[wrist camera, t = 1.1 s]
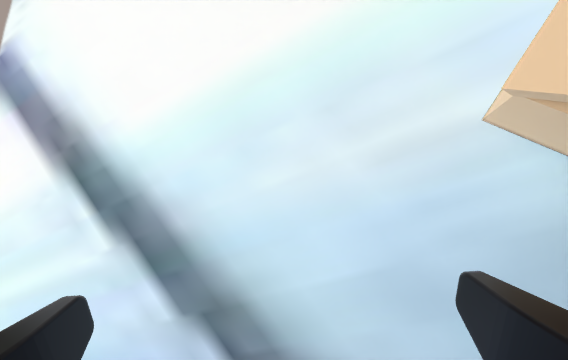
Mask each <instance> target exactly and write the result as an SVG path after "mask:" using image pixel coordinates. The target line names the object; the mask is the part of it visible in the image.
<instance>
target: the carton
mask: <svg viewBox="0 0 568 360" xmlns="http://www.w3.org/2000/svg"><path fill="white" fill-rule="evenodd" d="M482 120H483V121H485V122H488V123H490V124H492V125H495V126H497V127H499V128H502V129H504V130H507V131H509V132H511V133H514V134H516V135H518V136H521V137H523V138H526V139H528V140H530V141H533V142H535V143H538V144H540V145H542V146H545V147H547V148H549V149H552V150H554V151H557V152H559V153H561V154H564V155H566V156H568V102H559V101H551V100H542V99H533V98H525V97H516V96H512V95H510V94H509V93H507V92H506V91H504V90H503V89H502V90H501V91H500V93H499V95H498V96H497V98H496V99H495V101H494V102H493V104H492V105H491V107H490V108H489V110H488V111H487V113H486V114H485V116H484V117H483V119H482Z"/></svg>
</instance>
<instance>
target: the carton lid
mask: <svg viewBox="0 0 568 360" xmlns="http://www.w3.org/2000/svg"><path fill="white" fill-rule="evenodd" d="M501 89H503V90H504V91H506V92H507V93H509V94H510V95H512V96H516V97H525V98H533V99H542V100H551V101H559V102H568V0H559V1H558V3H557V4H556V6H555V7H554V9H553V10H552V12H551V13H550V15H549V16H548V18H547V19H546V21H545V22H544V24H543V26H542V27H541V29H540V30H539V32H538V33H537V35H536V36H535V38H534V39H533V41H532V42H531V44H530V45H529V47H528V48H527V50H526V51H525V53H524V54H523V56H522V58H521V59H520V61H519V62H518V64H517V65H516V67H515V68H514V70H513V71H512V73H511V74H510V76H509V77H508V79H507V80H506V82H505V83H504V85H503V87H502V88H501Z"/></svg>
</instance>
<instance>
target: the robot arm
mask: <svg viewBox="0 0 568 360" xmlns="http://www.w3.org/2000/svg"><path fill="white" fill-rule="evenodd" d="M456 307H457V309H458V312H459V314H460V316H461V318H462V320H463V321H464V323H465V325H466V327H467V329H468V331H469V333H470V335H471V337H472V339H473V341H474V343H475V345H476V347H477V349H478V351H479V353H480V354H481V356H482V358H483V360H568V310H566V309H564V308H561V307H559V306H557V305H555V304H552V303H550V302H548V301H546V300H544V299H541V298H539V297H537V296H535V295H532V294H530V293H528V292H526V291H524V290H521V289H519V288H517V287H515V286H512V285H510V284H508V283H506V282H504V281H501V280H499V279H497V278H495V277H492V276H490V275H488V274H486V273H484V272H481V271H468V272H463V273H461V275H460V277H459V282H458V288H457V294H456ZM93 329H94V322H93V318H92V315H91V312H90V309H89V306H88V303H87V300H86V298H85V297H83V296H80V295H78V296H65V297H62V298H60V299H58V300H57V301H55V302H53V303H51V304H49V305H48V306H46V307H44V308H42V309H40V310H38V311H37V312H35V313H33V314H31V315H29V316H28V317H26V318H24V319H22V320H20V321H19V322H17V323H15V324H13V325H11V326H9V327H8V328H6V329H4V330H2V331H0V360H81V358H82V356H83V354H84V352H85V349H86V347H87V345H88V342H89V340H90V338H91V336H92V333H93Z"/></svg>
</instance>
